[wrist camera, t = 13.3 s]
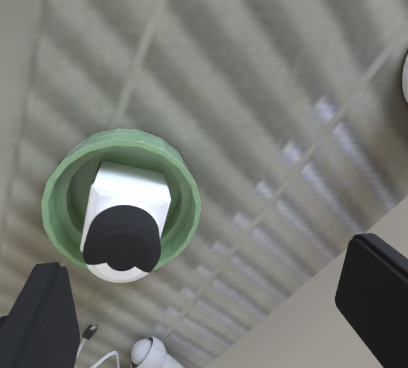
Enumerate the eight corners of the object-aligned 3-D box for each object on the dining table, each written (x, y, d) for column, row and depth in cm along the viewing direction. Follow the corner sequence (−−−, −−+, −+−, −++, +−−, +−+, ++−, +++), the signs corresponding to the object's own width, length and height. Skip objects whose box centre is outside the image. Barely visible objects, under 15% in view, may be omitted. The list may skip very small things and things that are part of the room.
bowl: (216, 181, 36) (229, 201, 31) (139, 266, 38) (139, 297, 33) (111, 97, 30) (106, 104, 25) (28, 204, 32) (7, 230, 27)
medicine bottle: (100, 158, 31) (80, 210, 20) (165, 172, 33) (178, 225, 22) (90, 216, 33) (67, 290, 23) (151, 225, 35) (157, 297, 25)
